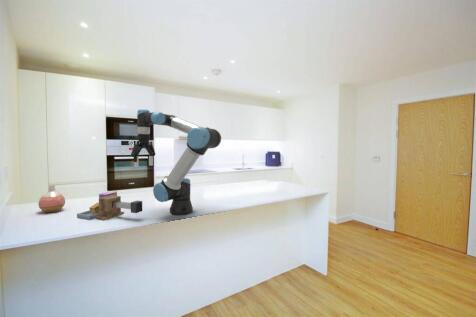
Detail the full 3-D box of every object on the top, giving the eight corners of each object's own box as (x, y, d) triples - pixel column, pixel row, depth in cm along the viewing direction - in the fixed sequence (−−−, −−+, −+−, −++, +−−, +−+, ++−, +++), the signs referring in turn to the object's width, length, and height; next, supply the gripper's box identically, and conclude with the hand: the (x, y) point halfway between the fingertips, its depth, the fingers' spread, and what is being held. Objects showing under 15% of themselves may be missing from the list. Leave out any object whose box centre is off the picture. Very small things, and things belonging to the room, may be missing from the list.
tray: (109, 213, 146) (109, 210, 146) (90, 220, 134) (90, 215, 134) (96, 212, 149) (96, 208, 149) (77, 217, 137) (77, 213, 137)
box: (106, 212, 150) (105, 194, 149) (98, 211, 151) (98, 193, 150) (117, 207, 160) (117, 191, 159) (110, 207, 161) (110, 190, 161)
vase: (55, 214, 143) (54, 186, 142) (32, 214, 142) (31, 186, 141) (70, 208, 157) (69, 183, 156) (49, 208, 156) (48, 183, 155)
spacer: (102, 203, 144) (97, 202, 146) (93, 208, 139) (89, 207, 140) (104, 209, 146) (99, 209, 147) (96, 215, 141) (91, 214, 142)
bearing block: (123, 213, 147) (123, 195, 146) (104, 220, 133) (104, 200, 133) (115, 212, 149) (115, 194, 149) (95, 219, 136) (95, 199, 135)
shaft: (142, 210, 137) (142, 201, 136) (136, 213, 132) (136, 203, 132) (108, 206, 145) (108, 197, 144) (102, 208, 140) (101, 199, 139)
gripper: (151, 134, 160) (151, 164, 162) (124, 132, 137) (124, 167, 138) (160, 134, 158) (160, 165, 159) (134, 132, 134) (134, 168, 136)
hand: (144, 166), depth 149 cm, fingers open, 13 cm apart
